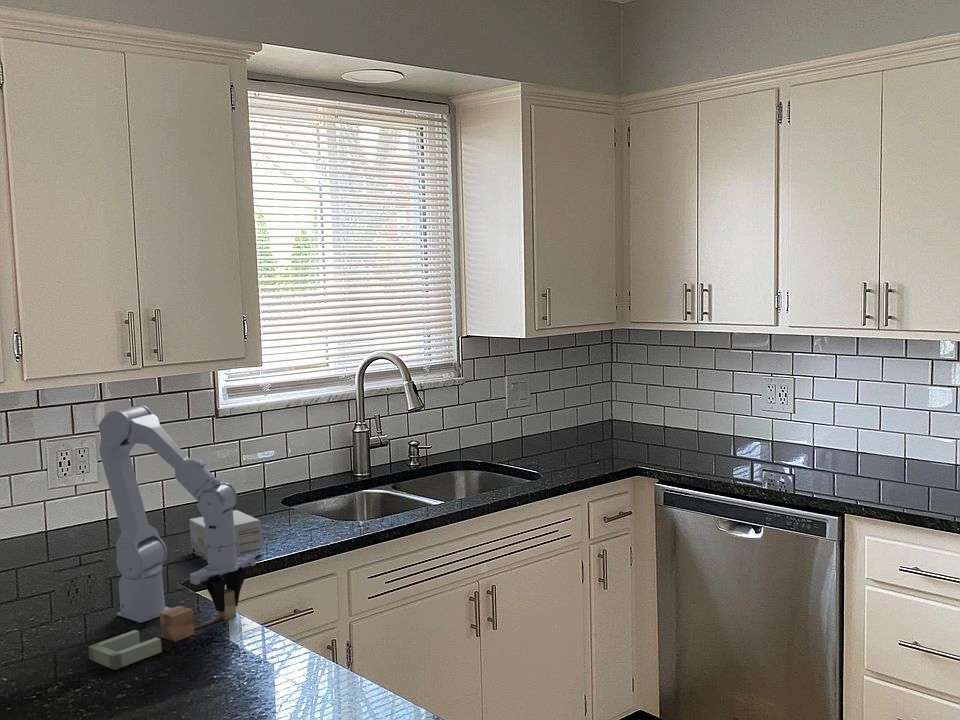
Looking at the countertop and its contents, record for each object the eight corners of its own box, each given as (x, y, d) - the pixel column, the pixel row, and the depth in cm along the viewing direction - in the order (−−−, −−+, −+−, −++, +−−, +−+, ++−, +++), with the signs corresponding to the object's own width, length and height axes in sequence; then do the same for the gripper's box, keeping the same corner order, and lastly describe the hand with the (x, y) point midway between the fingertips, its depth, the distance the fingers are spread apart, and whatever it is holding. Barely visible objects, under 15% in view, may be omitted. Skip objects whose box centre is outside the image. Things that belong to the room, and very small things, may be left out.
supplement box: (264, 555, 237) (261, 519, 236) (213, 567, 229) (210, 530, 229) (240, 542, 251) (237, 508, 250) (191, 553, 243) (188, 518, 242)
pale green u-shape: (89, 659, 175) (88, 646, 174) (136, 642, 182) (134, 629, 182) (114, 669, 169) (113, 656, 169) (161, 651, 176) (160, 638, 176)
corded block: (161, 637, 184) (159, 610, 183) (226, 613, 195) (223, 587, 195) (174, 641, 181) (172, 614, 180) (239, 617, 192) (237, 591, 192)
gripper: (202, 556, 183) (208, 623, 185) (262, 537, 195) (267, 600, 196) (181, 551, 188) (187, 616, 189) (241, 533, 199) (246, 595, 200)
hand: (226, 608), depth 193 cm, fingers closed on corded block, 3 cm apart
